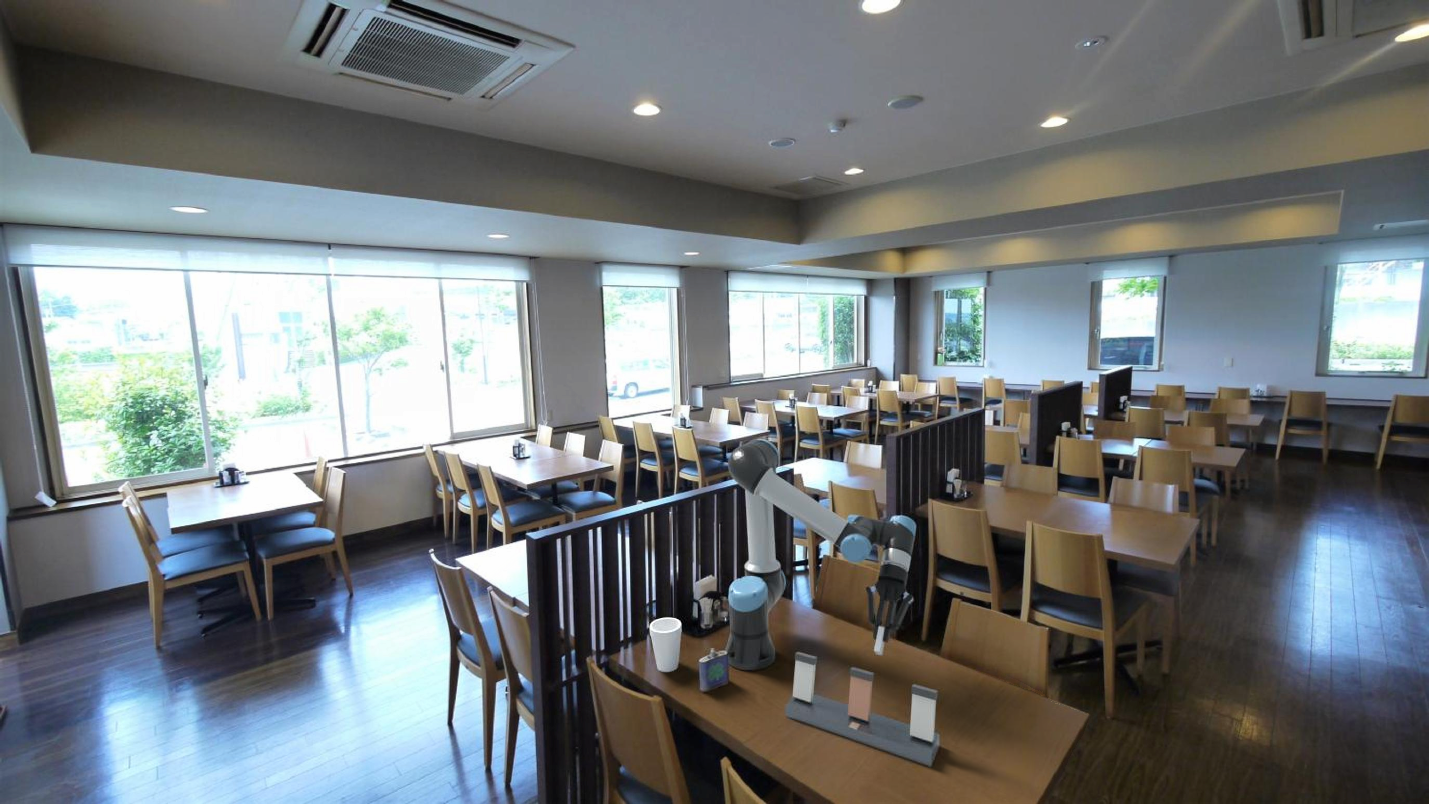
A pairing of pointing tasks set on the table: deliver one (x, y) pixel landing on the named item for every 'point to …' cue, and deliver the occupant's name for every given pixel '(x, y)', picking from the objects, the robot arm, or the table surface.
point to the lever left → (804, 676)
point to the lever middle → (860, 693)
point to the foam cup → (666, 643)
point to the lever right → (923, 712)
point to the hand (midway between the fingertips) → (877, 652)
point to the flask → (714, 670)
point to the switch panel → (864, 728)
